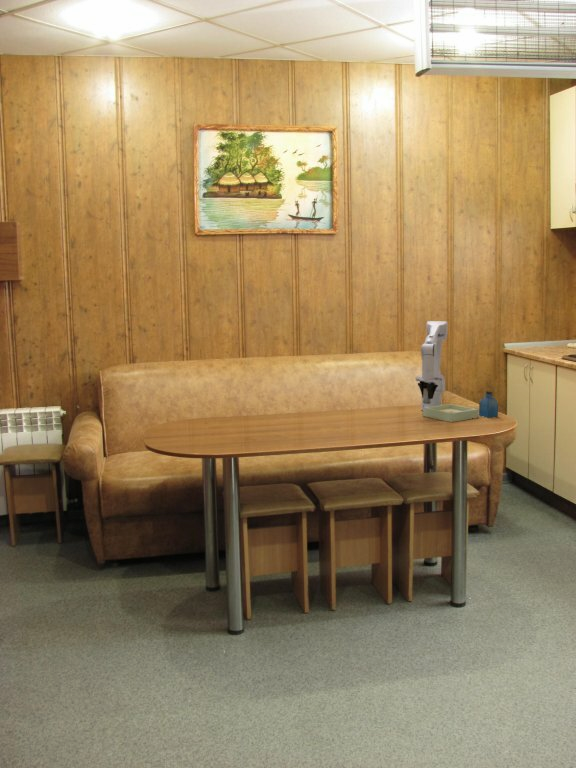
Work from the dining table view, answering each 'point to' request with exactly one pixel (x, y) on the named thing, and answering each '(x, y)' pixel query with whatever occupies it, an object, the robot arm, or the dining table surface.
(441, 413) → the box
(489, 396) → the perfume bottle
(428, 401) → the peg
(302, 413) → the dining table surface
